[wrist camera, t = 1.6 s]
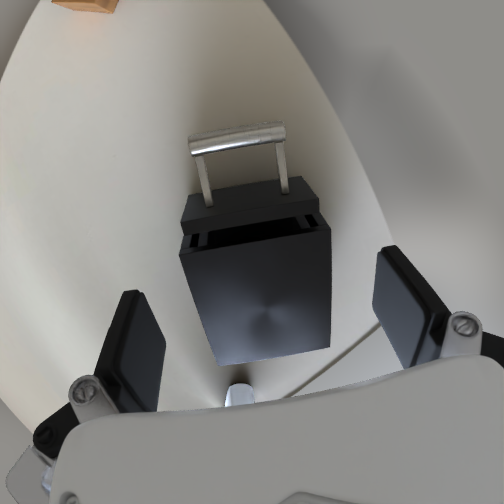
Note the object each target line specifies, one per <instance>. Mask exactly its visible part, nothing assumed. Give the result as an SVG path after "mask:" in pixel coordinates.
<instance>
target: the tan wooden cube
mask: <svg viewBox="0 0 504 504" xmlns="http://www.w3.org/2000/svg"><path fill="white" fill-rule="evenodd" d="M118 1H119V0H52V1H51V2H52V3H54V4H57V5H60V6H63V7H66V8H69V9H71V10H76V11H91V12H103V13H113V12H114V10H115V8H116V5H117V3H118Z"/></svg>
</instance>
